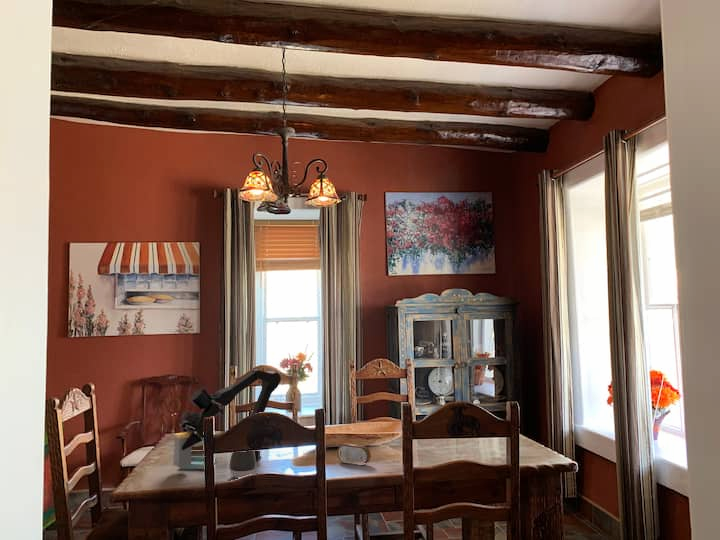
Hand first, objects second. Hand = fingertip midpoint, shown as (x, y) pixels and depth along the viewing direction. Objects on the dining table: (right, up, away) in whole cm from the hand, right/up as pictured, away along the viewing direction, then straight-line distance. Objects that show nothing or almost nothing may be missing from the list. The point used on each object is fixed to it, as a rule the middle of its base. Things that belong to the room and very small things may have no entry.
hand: (179, 448), depth 206 cm
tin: (+69, -12, +15) cm, 72 cm away
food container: (-4, -14, +36) cm, 39 cm away
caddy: (+1, -7, 0) cm, 7 cm away
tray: (+4, -11, +10) cm, 16 cm away
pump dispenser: (+26, -10, -4) cm, 28 cm away
